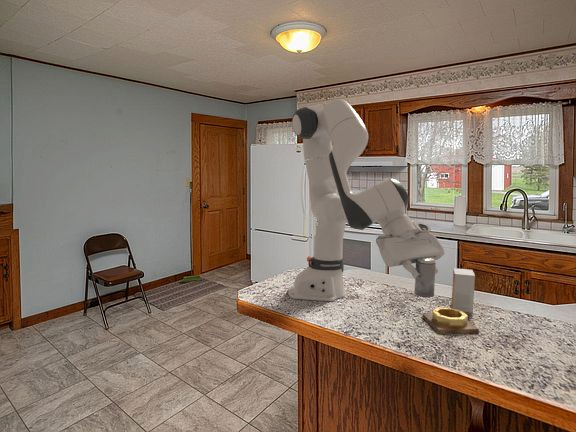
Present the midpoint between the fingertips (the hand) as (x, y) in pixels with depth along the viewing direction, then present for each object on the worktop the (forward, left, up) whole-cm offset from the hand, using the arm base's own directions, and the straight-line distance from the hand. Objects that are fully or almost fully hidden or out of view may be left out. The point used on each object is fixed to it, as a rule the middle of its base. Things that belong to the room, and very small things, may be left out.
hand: (426, 274), depth 97 cm
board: (+13, +12, -19) cm, 26 cm away
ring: (+13, +12, -18) cm, 25 cm away
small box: (+24, +26, -20) cm, 40 cm away
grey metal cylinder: (0, 0, -6) cm, 6 cm away
